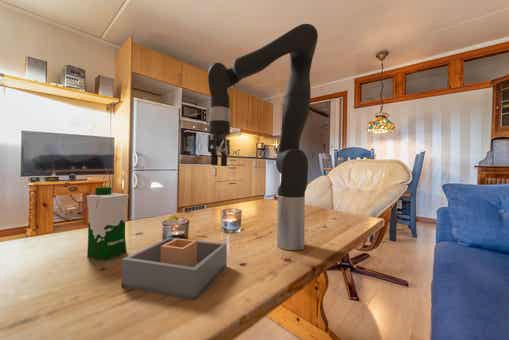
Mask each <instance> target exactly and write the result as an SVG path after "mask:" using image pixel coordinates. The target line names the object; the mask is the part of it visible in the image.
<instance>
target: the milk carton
mask: <svg viewBox="0 0 509 340" xmlns="http://www.w3.org/2000/svg"><path fill="white" fill-rule="evenodd" d="M94 190H95V193H94V194H88V195H86V201H87V209H88V218H87V219H88V223H87V224H88V226H87V227H88V228H87V230H88V231H87V232H88V233H87V258H90V259H95V260H100V261H103V262H104V261H107V260H110V259H112V258H116V257H118V256H121V255H122V254H126V253H127V242H126V241H127V240H126V213H127V212H126V208H127V204H128V200H129V196H130V195H129V194H126V193H116V192H112V187H109V186H108V187H107V186H103V187H101V186H99V187H95V189H94Z"/></svg>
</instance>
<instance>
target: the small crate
mask: <svg viewBox="0 0 509 340" xmlns="http://www.w3.org/2000/svg"><path fill="white" fill-rule="evenodd" d="M175 238H176V239H174V240H172V241H170V242H168V243H166V244H164V245H162V246H161V263H168V264H174V265H181V266H188V267H195V266H196V265H197V241H198V240H196V241H195V240H194V239H187V240H186V238H177V237H175Z"/></svg>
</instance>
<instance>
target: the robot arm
mask: <svg viewBox="0 0 509 340" xmlns="http://www.w3.org/2000/svg"><path fill="white" fill-rule="evenodd" d="M318 35H319V33H318V30H317V28H316V27H315V26H314V25H313V24H310V23H302V24H299V25H297V26H295V27H293V28H292V29H290V30H289V31H287V32H286V33H284V34H282V35H280V36H279V37H277V38H276V39H274V40H273V41H271V42H269V43H268V44H266V45H264V46H262V47H260V48H258V49H256V50H253V51H251V52H249V53H246V54H245V55H244V54H243V55H242V56H239V57H237V58H235V59H234V60H233V63H232V64H233V65H232V66H230V67H228V68H227V67H226V65H225V64H223V63H222V62H214V63H212V64H211V65H210V67H209V69H208V71H207V81H208V90H209V94H210V95H209V96H210V99H209V102H210V105H209V107H210V109H209V110H210V111H209V120H208V121H209V131H208V132H209V134H208V136H207V137H208V138H207V152H208V153H209V154H210V159H211V160H210V161H211V162H210V165H211V166H218V165H219V153H220V166H221V167H227V165H228V156H230V153H231V152H230V151H231V150H230V149H231V148H230V146H231V145H230V144H231V143H230V139H227V136H229V135H231V111H230V109H231V106H230V105H231V104H230V102H231V101H230V100H231V99H230V95H229V91H228V89H229V88H230V89H231V88H232V87H233V86H234V85H236V84H237V83H240V82H241V81H242V80H243V79H246V78H248V77H251V76H254V75H256V74H258V73H260V72H261V71H263V70H265V69H266V68H268V67H269V66H270V65H272V63H274V62H275V61H277V60H279V59H280V58H281V57H284V56H286V55H288V54H289V74H288V79H287V82H286V86H285V90H284V95H283V105H282V117H281V118H282V119H281V130H280V140H279V145H278V150H277V154H276V158H275V166H276V169H277V171H278V173H279V174H280V175H281V177H280V183H279V187H278V188H277V212H276V213H277V214H276V215H277V218H276V219H277V222H276V223H277V225H276V226H277V227H276V231H277V232H276V233H277V235H276V245H277V247H278V248H280V249H283V250H285V251H300V250H301V251H304V250H305V240H306V239H305V233H306V231H305V230H306V228H305V227H306V218H305V216H306V215H305V213H306V212H305V207H306V206H305V204H306V203H305V200H306V189H308V188H307V187H308V179H309V177H308V176H309V162H308V156H307V155H306V153H305V152H304V151H303V150H301V149H300V142H301V138H302V137H301V136H302V133H303V131H304V128H305V126H306V124H307V120H308V117H309V113H310V109H311V108H310V106H311V99H312V98H311V96H312V95H311V93H312V91H311V90H312V89H311V78H310V77H311V76H310V75H311V68H312V63H313V58H314V56H315V52H316V48H317V44H318V40H319V39H318V38H319V36H318Z"/></svg>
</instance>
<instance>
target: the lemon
mask: <svg viewBox="0 0 509 340" xmlns="http://www.w3.org/2000/svg"><path fill="white" fill-rule="evenodd" d="M171 219H180V218H179V216H176V215H175V214H173V215H172V216H170V217H169V218H167V220H171Z"/></svg>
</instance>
